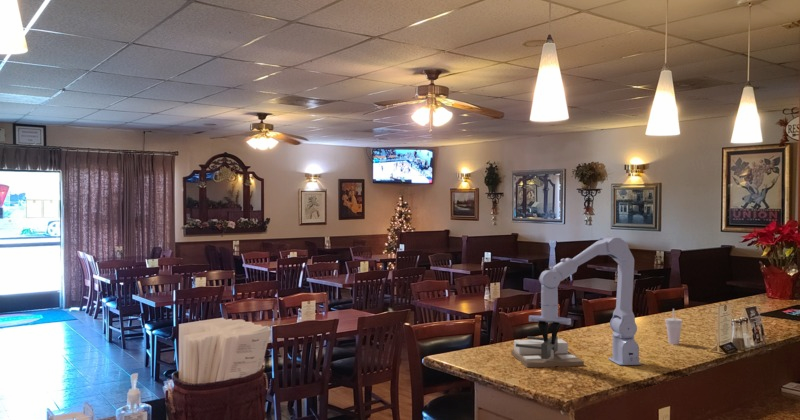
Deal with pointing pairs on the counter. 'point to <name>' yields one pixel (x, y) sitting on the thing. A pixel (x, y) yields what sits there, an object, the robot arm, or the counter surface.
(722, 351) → the counter surface
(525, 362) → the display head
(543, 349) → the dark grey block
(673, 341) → the smoothie
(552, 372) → the counter surface
